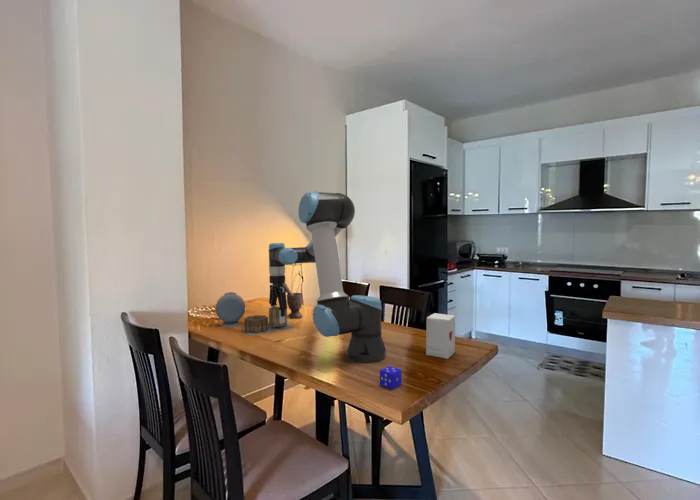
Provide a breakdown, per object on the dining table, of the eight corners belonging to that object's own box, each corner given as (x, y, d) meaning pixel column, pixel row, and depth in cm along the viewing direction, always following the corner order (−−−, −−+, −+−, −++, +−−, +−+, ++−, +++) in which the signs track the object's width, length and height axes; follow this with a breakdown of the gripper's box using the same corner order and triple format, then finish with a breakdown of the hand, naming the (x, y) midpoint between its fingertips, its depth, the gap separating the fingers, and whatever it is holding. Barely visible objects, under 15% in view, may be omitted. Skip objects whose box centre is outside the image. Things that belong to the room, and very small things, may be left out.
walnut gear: (271, 330, 177) (271, 318, 176) (249, 334, 171) (249, 321, 170) (262, 326, 185) (262, 314, 185) (241, 329, 179) (241, 317, 179)
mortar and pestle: (289, 321, 201) (289, 283, 200) (279, 318, 207) (278, 282, 206) (305, 317, 210) (305, 281, 209) (295, 314, 216) (295, 280, 214)
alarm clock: (245, 323, 196) (244, 290, 195) (246, 328, 187) (245, 293, 186) (216, 326, 192) (215, 291, 191) (215, 331, 182) (214, 295, 181)
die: (392, 390, 115) (392, 374, 115) (379, 385, 119) (379, 370, 118) (401, 385, 119) (401, 369, 119) (388, 380, 122) (388, 365, 122)
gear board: (294, 331, 182) (294, 317, 181) (250, 339, 169) (250, 324, 169) (282, 324, 193) (282, 312, 193) (240, 331, 181) (239, 318, 180)
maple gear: (290, 325, 183) (290, 308, 182) (273, 327, 178) (273, 311, 178) (282, 321, 190) (282, 305, 190) (266, 323, 185) (266, 307, 185)
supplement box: (448, 359, 141) (448, 320, 141) (425, 355, 146) (425, 317, 145) (455, 352, 149) (455, 315, 148) (433, 348, 154) (433, 312, 153)
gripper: (294, 276, 176) (294, 324, 177) (275, 272, 194) (276, 315, 195) (279, 277, 172) (280, 326, 173) (261, 273, 189) (262, 317, 191)
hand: (278, 320), depth 184 cm, fingers closed on maple gear, 9 cm apart
